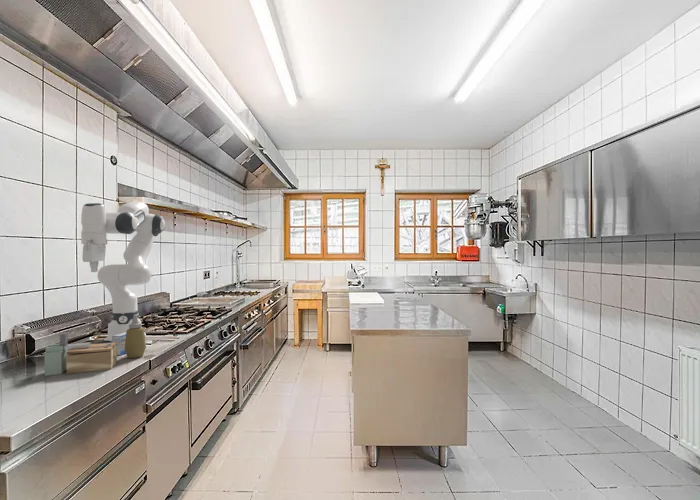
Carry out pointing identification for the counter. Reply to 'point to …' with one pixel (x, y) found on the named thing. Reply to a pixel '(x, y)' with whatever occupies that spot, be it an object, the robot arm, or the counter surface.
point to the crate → (91, 361)
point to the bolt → (71, 346)
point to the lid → (94, 348)
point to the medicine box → (120, 343)
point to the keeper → (55, 360)
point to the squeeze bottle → (135, 339)
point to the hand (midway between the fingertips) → (94, 271)
